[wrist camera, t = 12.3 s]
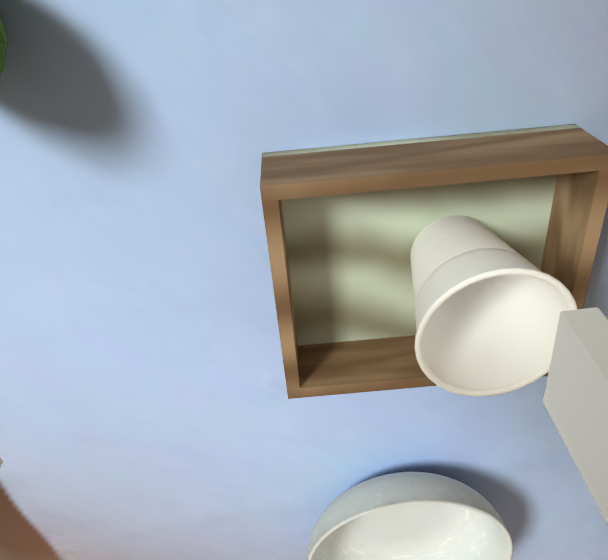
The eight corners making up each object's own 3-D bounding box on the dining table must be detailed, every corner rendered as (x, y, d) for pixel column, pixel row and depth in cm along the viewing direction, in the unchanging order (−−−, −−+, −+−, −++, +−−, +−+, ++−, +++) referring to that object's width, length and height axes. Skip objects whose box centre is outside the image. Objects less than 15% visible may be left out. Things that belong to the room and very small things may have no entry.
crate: (262, 152, 39) (260, 186, 34) (574, 124, 39) (619, 153, 34) (287, 349, 48) (288, 398, 43) (536, 327, 48) (567, 374, 43)
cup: (429, 167, 39) (477, 244, 30) (539, 220, 42) (615, 304, 32) (362, 275, 44) (385, 370, 34) (464, 316, 46) (511, 414, 37)
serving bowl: (270, 483, 58) (269, 544, 53) (458, 416, 54) (480, 474, 48) (349, 577, 69) (355, 636, 63) (512, 526, 64) (535, 586, 59)
